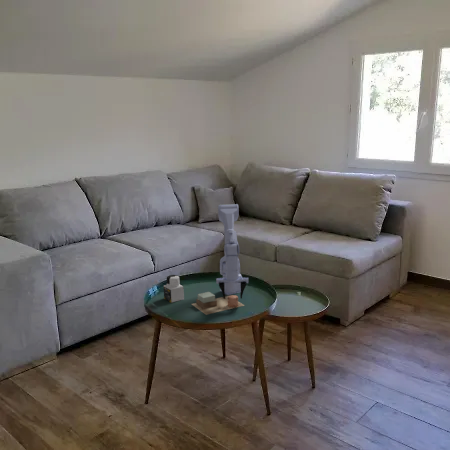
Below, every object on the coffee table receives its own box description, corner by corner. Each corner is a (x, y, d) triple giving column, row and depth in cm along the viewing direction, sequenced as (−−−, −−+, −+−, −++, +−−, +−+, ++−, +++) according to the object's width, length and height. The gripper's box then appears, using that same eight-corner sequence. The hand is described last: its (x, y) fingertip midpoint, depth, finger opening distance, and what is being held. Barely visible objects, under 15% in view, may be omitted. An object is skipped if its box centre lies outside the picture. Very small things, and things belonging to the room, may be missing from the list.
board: (228, 296, 237) (228, 295, 237) (244, 306, 224) (244, 305, 224) (191, 305, 228) (191, 304, 228) (206, 315, 215) (206, 314, 215)
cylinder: (234, 302, 228) (234, 294, 227) (240, 305, 224) (239, 297, 223) (225, 304, 226) (225, 296, 225) (231, 308, 221) (230, 299, 221)
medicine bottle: (163, 299, 236) (162, 275, 233) (176, 296, 240) (175, 272, 237) (171, 303, 230) (170, 279, 228) (184, 300, 234) (183, 276, 232)
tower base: (209, 301, 231) (209, 296, 230) (216, 305, 225) (216, 300, 224) (196, 304, 227) (196, 299, 227) (203, 309, 221) (203, 303, 221)
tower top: (209, 296, 229) (209, 291, 229) (215, 300, 224) (215, 295, 224) (197, 299, 226) (197, 294, 226) (203, 303, 221) (203, 298, 221)
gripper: (215, 272, 217) (216, 301, 220) (248, 271, 217) (248, 300, 220) (216, 267, 224) (217, 295, 227) (247, 267, 224) (248, 295, 227)
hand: (232, 297), depth 224 cm, fingers open, 7 cm apart
